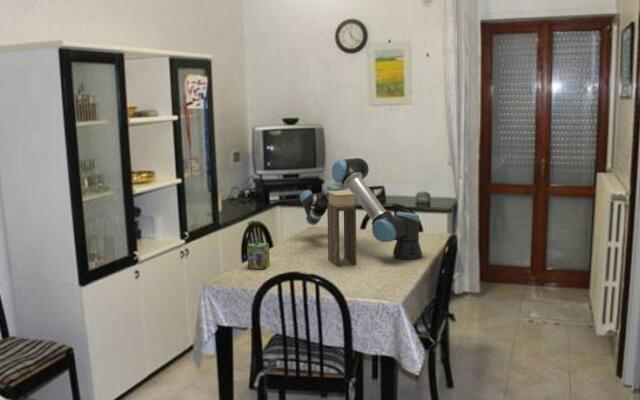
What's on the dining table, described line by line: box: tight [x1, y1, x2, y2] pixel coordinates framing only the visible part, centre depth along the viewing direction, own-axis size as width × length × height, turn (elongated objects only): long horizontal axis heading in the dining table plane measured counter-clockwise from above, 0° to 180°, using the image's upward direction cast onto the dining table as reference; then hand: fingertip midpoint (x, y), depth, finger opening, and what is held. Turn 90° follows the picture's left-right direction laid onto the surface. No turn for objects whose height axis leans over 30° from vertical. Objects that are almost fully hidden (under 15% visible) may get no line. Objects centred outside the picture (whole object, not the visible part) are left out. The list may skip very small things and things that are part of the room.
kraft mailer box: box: [329, 194, 355, 207], centre depth 317 cm, size 13×9×5 cm
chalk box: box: [246, 237, 271, 270], centre depth 315 cm, size 9×9×15 cm
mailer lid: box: [326, 185, 355, 197], centre depth 321 cm, size 24×10×2 cm, turn 17°
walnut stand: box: [326, 203, 357, 268], centre depth 319 cm, size 15×10×30 cm, turn 17°
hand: (327, 196), depth 338 cm, fingers open, 13 cm apart
